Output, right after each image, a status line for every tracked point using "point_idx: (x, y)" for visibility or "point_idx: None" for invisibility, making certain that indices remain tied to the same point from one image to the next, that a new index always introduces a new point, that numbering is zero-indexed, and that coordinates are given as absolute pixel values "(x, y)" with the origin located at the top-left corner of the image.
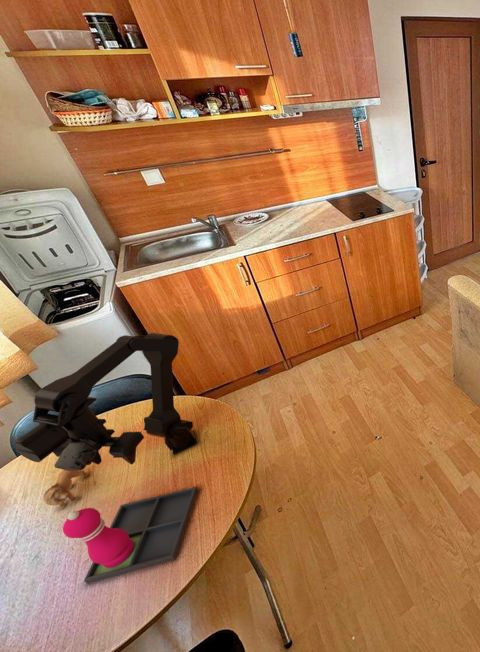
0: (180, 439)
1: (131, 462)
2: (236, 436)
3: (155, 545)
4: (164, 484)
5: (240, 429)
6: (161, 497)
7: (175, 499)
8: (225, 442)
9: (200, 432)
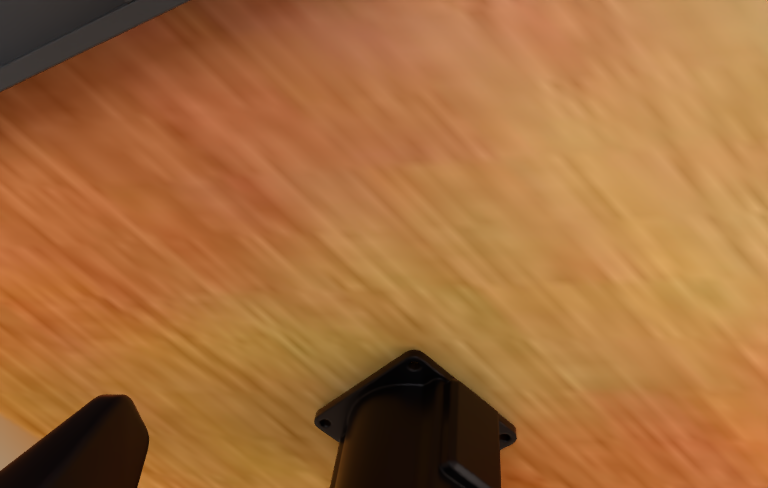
0: (346, 481)
1: (45, 447)
2: None
3: None
4: (281, 132)
5: None
6: (118, 9)
7: (40, 13)
8: None
9: None
